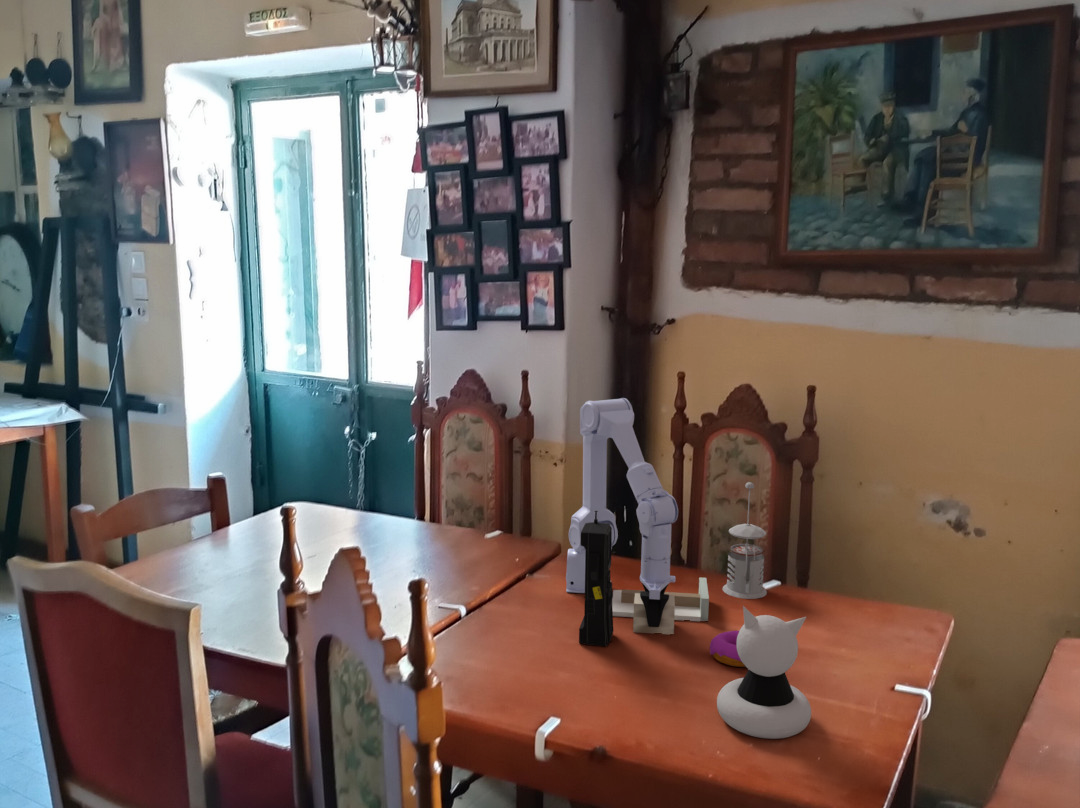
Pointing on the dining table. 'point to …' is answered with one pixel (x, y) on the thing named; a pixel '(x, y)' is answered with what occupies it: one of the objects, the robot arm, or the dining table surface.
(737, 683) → the decorative figurine
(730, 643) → the donut
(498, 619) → the dining table surface
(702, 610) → the board
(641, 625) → the saddle block
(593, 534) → the portable radio
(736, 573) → the french press
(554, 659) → the dining table surface
